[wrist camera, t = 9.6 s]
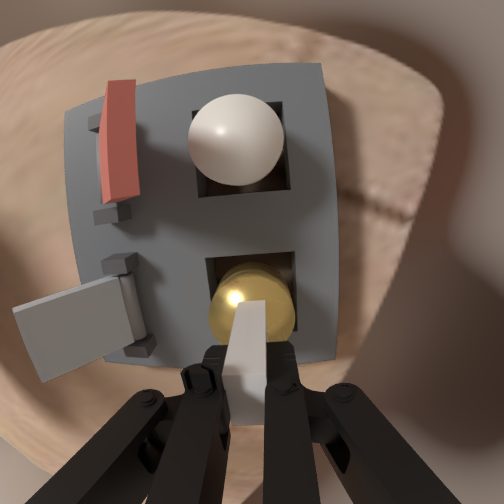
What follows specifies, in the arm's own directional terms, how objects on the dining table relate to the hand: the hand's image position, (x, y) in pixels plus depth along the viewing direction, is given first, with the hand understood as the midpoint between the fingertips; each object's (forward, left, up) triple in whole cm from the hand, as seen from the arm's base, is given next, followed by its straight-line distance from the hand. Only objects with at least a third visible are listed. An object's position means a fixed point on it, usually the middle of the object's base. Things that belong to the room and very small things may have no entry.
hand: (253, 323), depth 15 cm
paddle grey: (-9, 0, -3) cm, 10 cm away
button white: (0, +10, -4) cm, 11 cm away
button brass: (0, 0, -4) cm, 4 cm away
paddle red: (-9, +10, -3) cm, 14 cm away
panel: (-4, +5, -7) cm, 9 cm away
